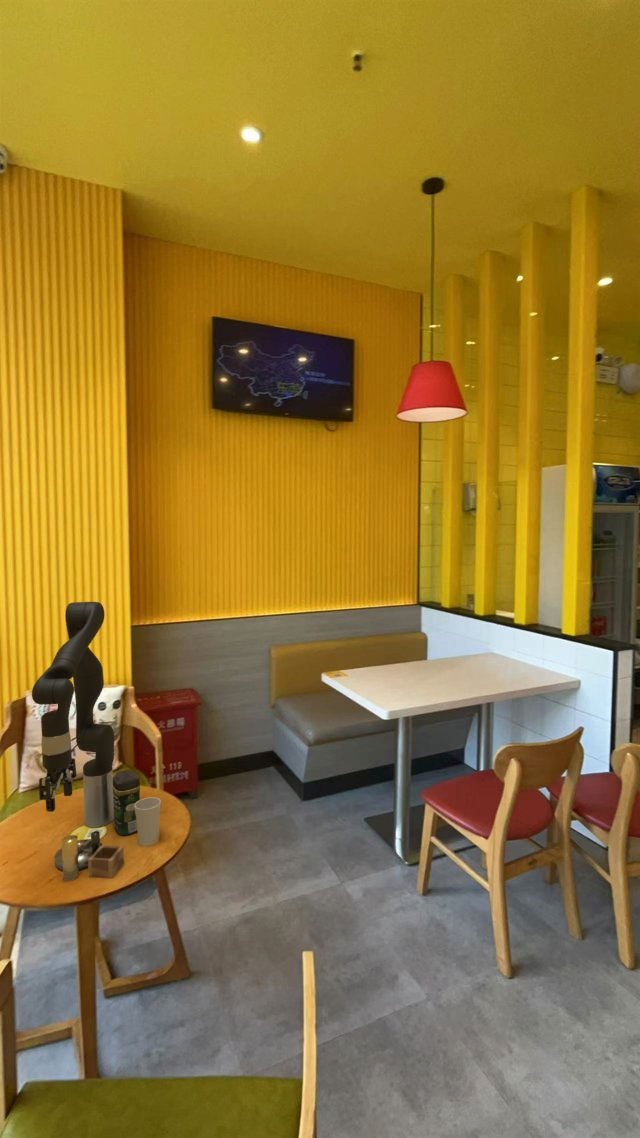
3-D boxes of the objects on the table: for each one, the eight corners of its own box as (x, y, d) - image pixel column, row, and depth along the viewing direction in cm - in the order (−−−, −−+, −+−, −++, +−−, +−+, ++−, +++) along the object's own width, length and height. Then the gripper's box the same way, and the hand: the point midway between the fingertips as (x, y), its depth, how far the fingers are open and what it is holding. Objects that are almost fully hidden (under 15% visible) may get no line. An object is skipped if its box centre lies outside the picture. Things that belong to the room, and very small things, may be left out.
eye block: (101, 862, 157) (100, 845, 157) (124, 863, 156) (123, 846, 156) (88, 876, 150) (88, 859, 150) (112, 878, 149) (111, 860, 149)
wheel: (45, 868, 154) (44, 841, 153) (73, 843, 167) (72, 818, 166) (86, 873, 151) (85, 845, 151) (112, 847, 164) (111, 822, 164)
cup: (131, 840, 169) (129, 803, 168) (154, 830, 174) (153, 794, 174) (142, 850, 163) (141, 812, 162) (166, 840, 169) (165, 803, 168)
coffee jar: (111, 826, 177) (109, 771, 176) (135, 818, 182) (133, 765, 181) (119, 839, 169) (117, 782, 169) (144, 831, 174) (142, 775, 173)
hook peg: (68, 872, 153) (67, 834, 152) (81, 872, 152) (80, 835, 152) (60, 880, 149) (58, 842, 148) (73, 881, 148) (72, 843, 148)
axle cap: (77, 845, 161) (77, 839, 160) (86, 846, 160) (86, 839, 160) (71, 851, 158) (71, 845, 157) (81, 851, 157) (80, 845, 157)
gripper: (58, 738, 158) (61, 790, 160) (28, 758, 144) (31, 816, 146) (82, 738, 158) (85, 791, 159) (54, 759, 144) (57, 816, 145)
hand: (59, 803), depth 152 cm, fingers open, 8 cm apart
